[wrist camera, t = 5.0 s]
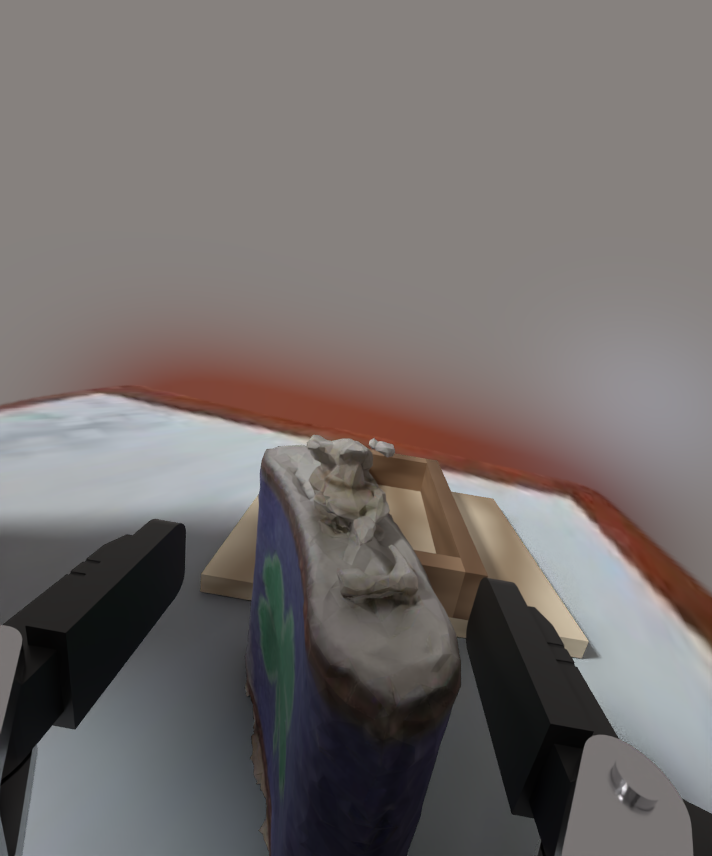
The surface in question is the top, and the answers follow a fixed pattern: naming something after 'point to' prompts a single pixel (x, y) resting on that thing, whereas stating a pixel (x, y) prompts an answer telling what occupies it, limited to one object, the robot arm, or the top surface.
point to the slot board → (426, 547)
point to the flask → (342, 658)
